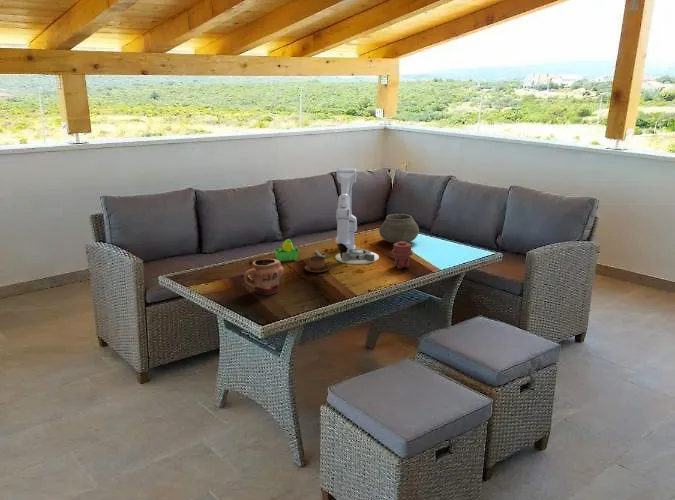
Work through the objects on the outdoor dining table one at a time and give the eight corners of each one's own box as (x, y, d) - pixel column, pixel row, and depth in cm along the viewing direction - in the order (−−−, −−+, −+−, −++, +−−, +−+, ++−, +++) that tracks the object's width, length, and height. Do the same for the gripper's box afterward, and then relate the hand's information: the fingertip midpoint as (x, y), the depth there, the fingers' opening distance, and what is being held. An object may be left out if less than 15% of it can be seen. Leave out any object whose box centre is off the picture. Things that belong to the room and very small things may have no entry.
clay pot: (407, 249, 324) (407, 222, 320) (372, 244, 335) (372, 217, 331) (424, 240, 341) (425, 214, 337) (391, 236, 352) (391, 210, 348)
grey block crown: (333, 254, 311) (333, 247, 310) (363, 251, 317) (363, 243, 316) (343, 261, 299) (343, 253, 298) (374, 257, 305) (374, 250, 304)
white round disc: (338, 251, 321) (338, 244, 320) (380, 252, 318) (380, 245, 317) (332, 263, 300) (332, 256, 299) (377, 264, 297) (377, 257, 296)
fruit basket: (295, 256, 313) (295, 235, 310) (300, 261, 305) (299, 239, 302) (274, 258, 309) (273, 237, 306) (277, 263, 301) (277, 241, 298)
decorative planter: (256, 302, 248) (255, 269, 244) (237, 295, 256) (235, 264, 252) (291, 289, 262) (290, 258, 259) (271, 284, 270) (270, 254, 266)
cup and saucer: (299, 270, 289) (299, 258, 288) (317, 265, 298) (317, 253, 296) (316, 276, 281) (316, 263, 280) (335, 270, 289) (334, 258, 288)
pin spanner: (314, 252, 321) (314, 248, 320) (320, 251, 322) (320, 247, 321) (320, 259, 308) (320, 254, 308) (327, 258, 309) (326, 254, 309)
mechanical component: (391, 263, 299) (411, 264, 298) (391, 269, 289) (412, 270, 288) (392, 239, 296) (412, 239, 295) (391, 244, 286) (413, 245, 285)
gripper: (330, 229, 305) (330, 255, 309) (341, 235, 292) (341, 262, 296) (343, 227, 308) (343, 253, 311) (354, 234, 295) (354, 261, 298)
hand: (343, 257), depth 304 cm, fingers closed
